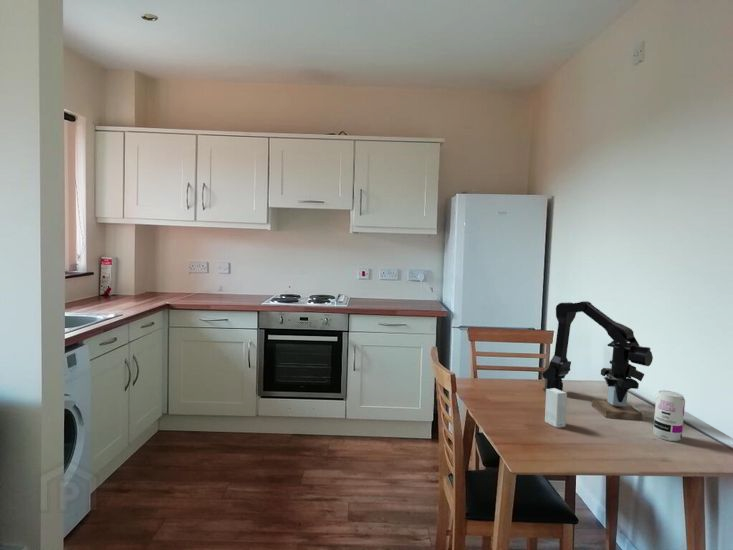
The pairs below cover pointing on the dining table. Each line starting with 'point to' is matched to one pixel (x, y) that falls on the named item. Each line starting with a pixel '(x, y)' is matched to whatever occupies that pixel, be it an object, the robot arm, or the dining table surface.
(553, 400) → the skincare box
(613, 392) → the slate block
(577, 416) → the dining table surface
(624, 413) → the walnut base
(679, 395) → the supplement can
